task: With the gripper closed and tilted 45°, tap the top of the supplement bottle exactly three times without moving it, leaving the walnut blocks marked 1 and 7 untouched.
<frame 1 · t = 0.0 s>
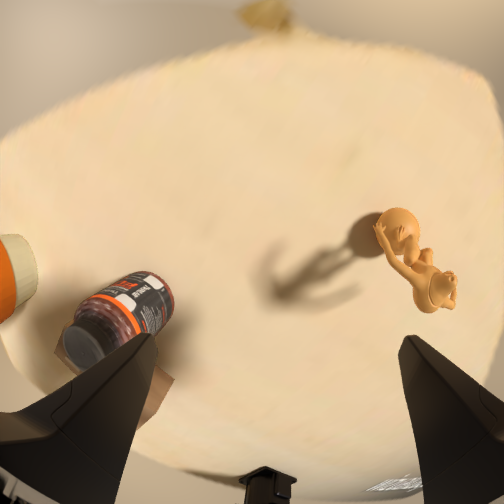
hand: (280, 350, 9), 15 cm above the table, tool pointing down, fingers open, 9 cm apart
block seven: (104, 332, 27), on the table
figurine: (382, 238, 23), on the table
reusable coffee cup: (20, 266, 27), on the table
block one: (147, 376, 28), on the table
supplement bottle: (149, 297, 26), on the table
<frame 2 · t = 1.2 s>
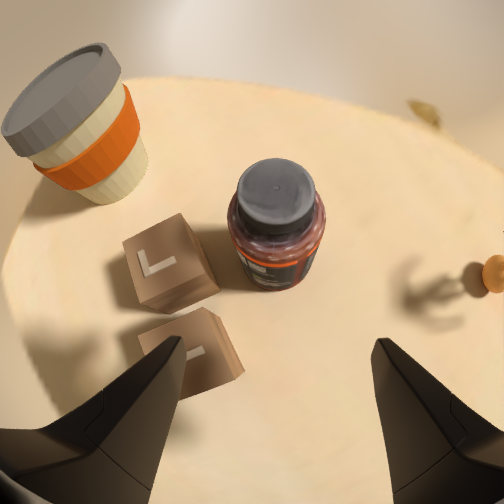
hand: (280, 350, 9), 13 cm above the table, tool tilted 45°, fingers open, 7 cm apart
block seven: (185, 277, 24), on the table
figurine: (482, 285, 21), on the table
reusable coffee cup: (115, 173, 29), on the table
block one: (205, 355, 22), on the table
supplement bottle: (276, 259, 24), on the table
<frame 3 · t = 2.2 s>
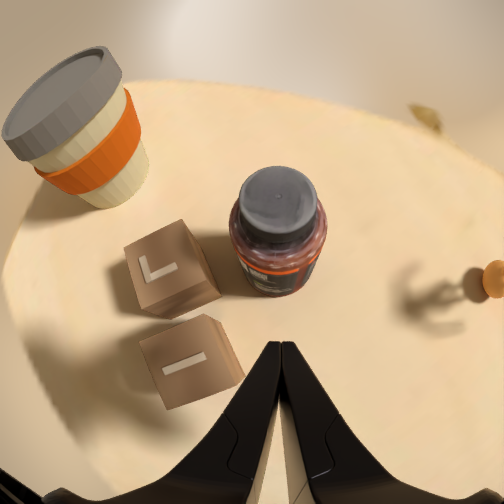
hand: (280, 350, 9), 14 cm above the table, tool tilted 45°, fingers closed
block seven: (186, 283, 24), on the table
figurine: (482, 290, 21), on the table
reusable coffee cup: (116, 177, 29), on the table
block one: (206, 360, 22), on the table
supplement bottle: (277, 265, 24), on the table
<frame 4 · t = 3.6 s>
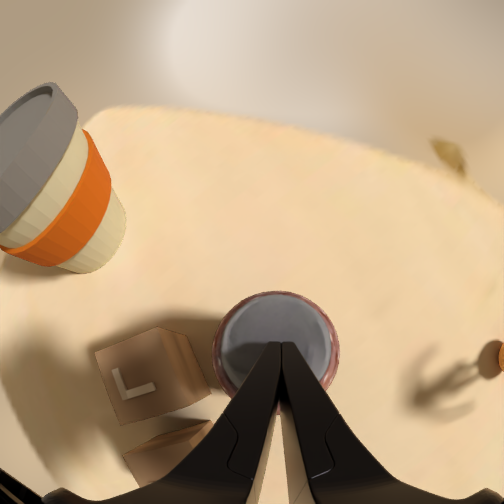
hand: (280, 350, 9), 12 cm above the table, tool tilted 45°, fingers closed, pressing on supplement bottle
block seven: (171, 375, 19), on the table
figurine: (497, 363, 17), on the table
reusable coffee cup: (91, 233, 25), on the table
block one: (196, 454, 17), on the table
supplement bottle: (274, 360, 19), on the table, touching gripper
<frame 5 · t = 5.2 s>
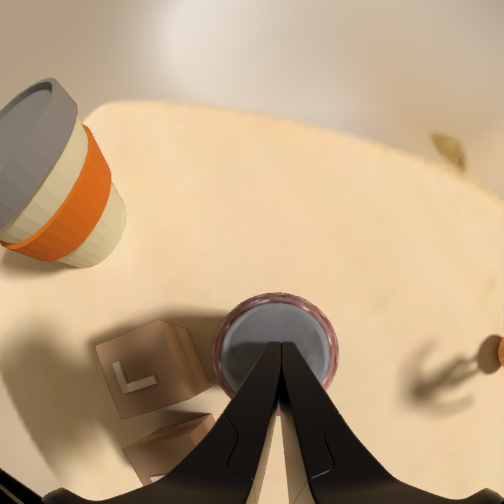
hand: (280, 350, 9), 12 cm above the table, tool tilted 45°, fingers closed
block seven: (171, 368, 20), on the table
figurine: (496, 358, 17), on the table
reusable coffee cup: (92, 227, 25), on the table
block one: (197, 448, 17), on the table
supplement bottle: (275, 352, 20), on the table
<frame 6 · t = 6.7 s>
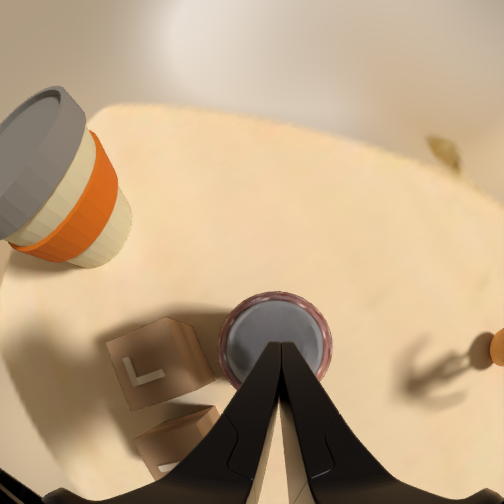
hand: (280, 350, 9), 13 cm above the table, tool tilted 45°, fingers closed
block seven: (177, 363, 21), on the table
figurine: (488, 355, 18), on the table
reusable coffee cup: (98, 229, 26), on the table
block one: (201, 439, 19), on the table
supplement bottle: (274, 347, 21), on the table
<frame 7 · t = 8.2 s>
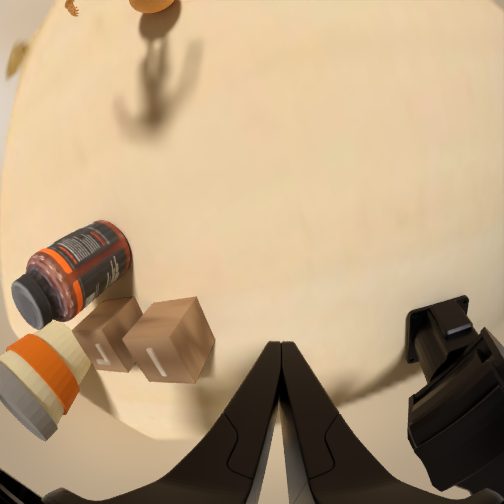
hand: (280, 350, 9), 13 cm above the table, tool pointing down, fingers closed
block seven: (128, 318, 27), on the table
figurine: (168, 8, 15), on the table
reusable coffee cup: (70, 345, 33), on the table
block one: (183, 321, 26), on the table
supplement bottle: (110, 247, 24), on the table
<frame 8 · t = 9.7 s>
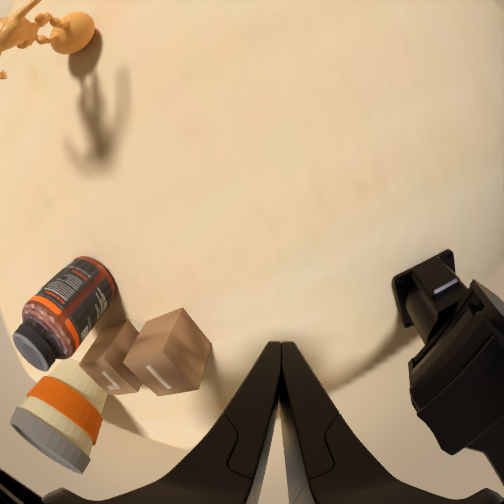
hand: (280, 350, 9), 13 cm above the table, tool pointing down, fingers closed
block seven: (128, 341, 28), on the table
figurine: (91, 42, 15), on the table
reusable coffee cup: (84, 377, 34), on the table
block one: (178, 332, 26), on the table
supplement bottle: (94, 279, 25), on the table
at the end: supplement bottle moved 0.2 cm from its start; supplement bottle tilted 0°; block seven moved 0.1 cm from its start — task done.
